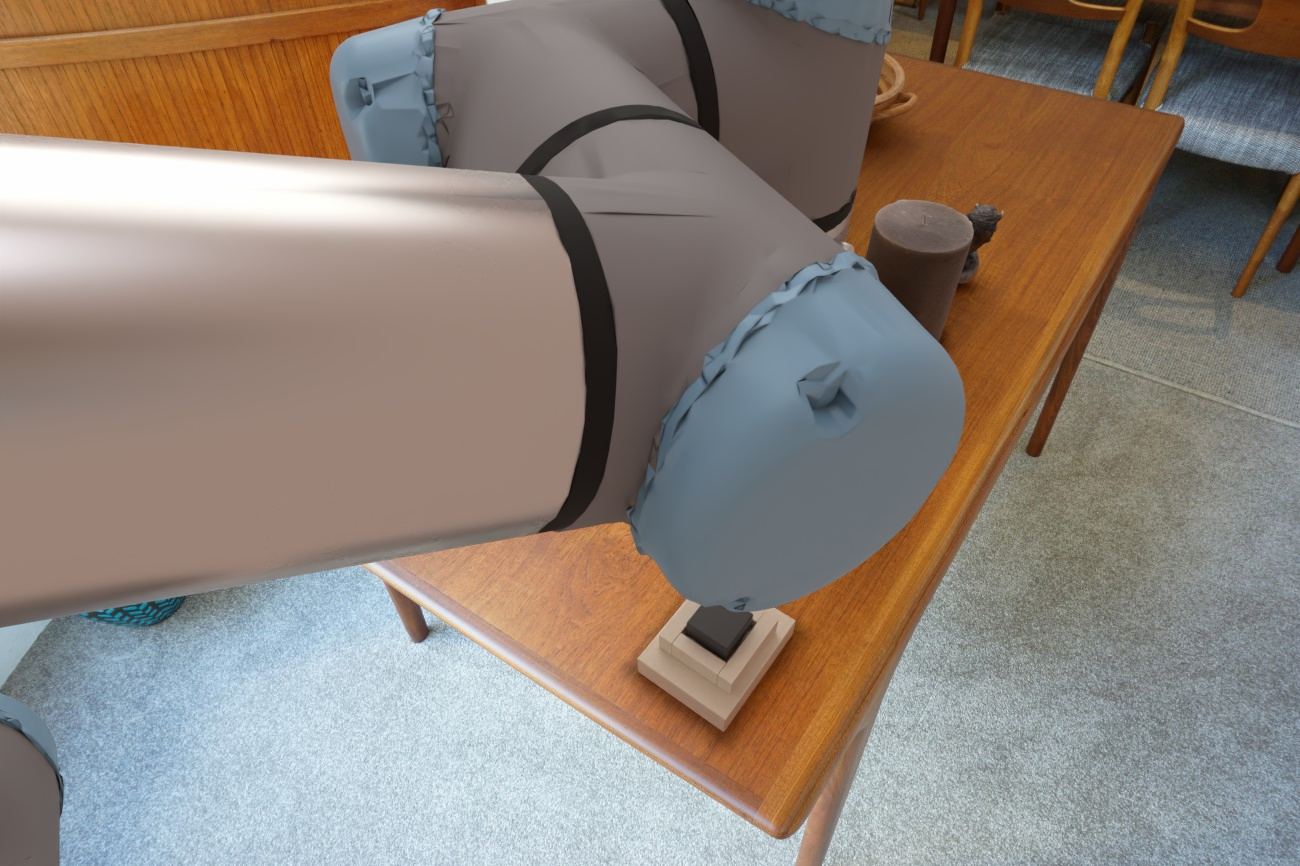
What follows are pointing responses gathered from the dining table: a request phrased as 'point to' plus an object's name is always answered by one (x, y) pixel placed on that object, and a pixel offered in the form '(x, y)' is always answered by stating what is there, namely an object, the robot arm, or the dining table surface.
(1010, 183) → the dining table surface
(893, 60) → the wicker basket
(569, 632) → the dining table surface
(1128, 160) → the dining table surface
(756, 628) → the front key block
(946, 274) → the pillar candle
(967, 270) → the bison figurine
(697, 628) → the black key
